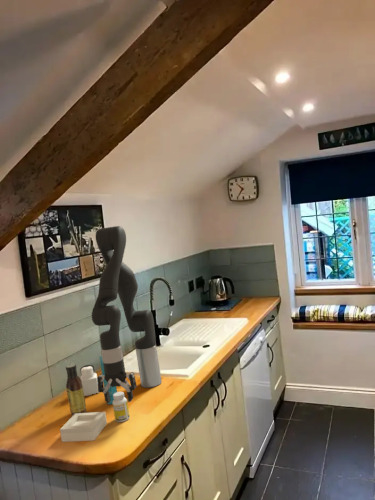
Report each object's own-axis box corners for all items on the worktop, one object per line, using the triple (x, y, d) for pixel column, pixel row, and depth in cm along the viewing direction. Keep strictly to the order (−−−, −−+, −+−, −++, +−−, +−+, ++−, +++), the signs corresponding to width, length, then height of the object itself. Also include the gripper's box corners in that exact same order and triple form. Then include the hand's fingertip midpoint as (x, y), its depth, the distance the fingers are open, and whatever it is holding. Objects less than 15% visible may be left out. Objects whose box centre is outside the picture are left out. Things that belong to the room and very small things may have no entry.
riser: (77, 424, 163) (75, 413, 162) (107, 423, 160) (105, 411, 160) (62, 441, 151) (59, 429, 151) (94, 440, 149) (92, 427, 148)
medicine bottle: (83, 391, 197) (78, 365, 197) (98, 387, 199) (94, 362, 198) (82, 396, 190) (78, 370, 190) (99, 393, 192) (94, 367, 191)
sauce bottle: (72, 411, 176) (64, 363, 175) (88, 408, 177) (80, 361, 175) (69, 418, 170) (61, 369, 169) (85, 415, 170) (77, 366, 169)
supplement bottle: (123, 414, 166) (119, 389, 165) (132, 417, 163) (128, 391, 162) (112, 420, 162) (108, 395, 161) (122, 423, 158) (117, 397, 158)
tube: (123, 400, 180) (116, 355, 179) (115, 405, 176) (108, 359, 175) (109, 398, 184) (102, 354, 182) (101, 403, 180) (94, 358, 178)
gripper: (134, 354, 163) (140, 396, 164) (99, 357, 166) (105, 398, 167) (127, 361, 156) (134, 404, 156) (90, 363, 158) (97, 407, 159)
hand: (119, 401), depth 162 cm, fingers open, 8 cm apart
